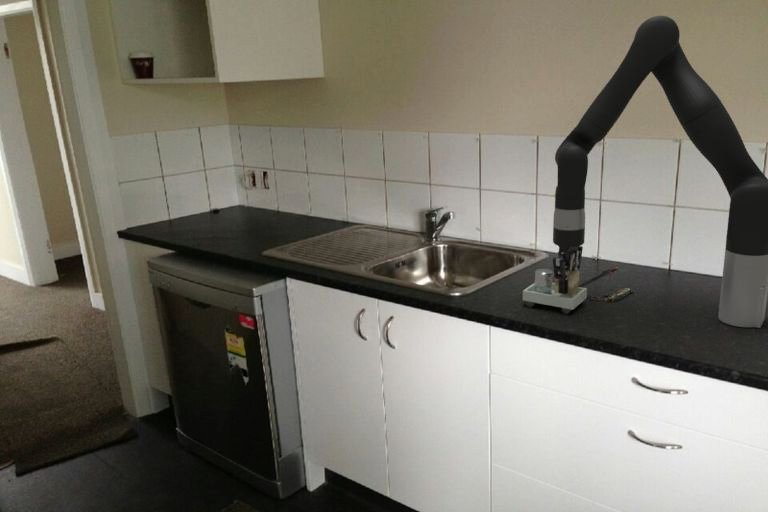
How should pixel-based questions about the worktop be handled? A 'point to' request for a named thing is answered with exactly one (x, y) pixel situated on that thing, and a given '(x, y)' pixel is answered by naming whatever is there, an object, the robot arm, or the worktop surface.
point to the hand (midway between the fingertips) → (567, 289)
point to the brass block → (570, 283)
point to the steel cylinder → (543, 281)
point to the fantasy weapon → (607, 298)
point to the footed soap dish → (554, 298)
